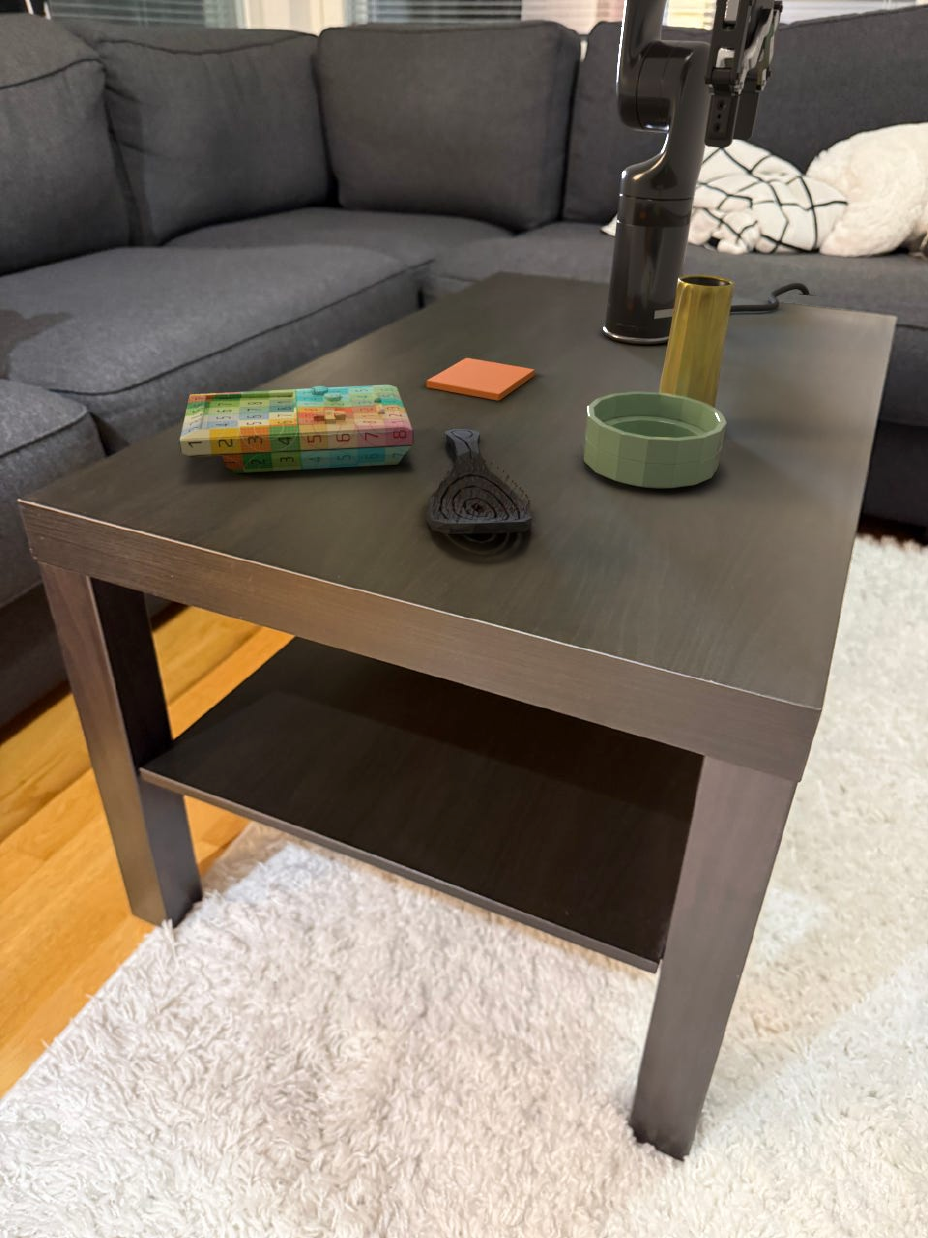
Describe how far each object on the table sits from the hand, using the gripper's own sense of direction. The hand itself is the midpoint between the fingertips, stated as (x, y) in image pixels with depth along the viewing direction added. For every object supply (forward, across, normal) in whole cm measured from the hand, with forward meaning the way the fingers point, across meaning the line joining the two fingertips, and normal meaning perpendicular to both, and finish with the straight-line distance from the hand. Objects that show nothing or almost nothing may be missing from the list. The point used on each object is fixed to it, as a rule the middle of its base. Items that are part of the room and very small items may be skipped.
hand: (728, 142), depth 76 cm
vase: (+26, 0, 0) cm, 26 cm away
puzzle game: (+26, +25, -30) cm, 47 cm away
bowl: (+26, +12, 0) cm, 28 cm away
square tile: (+26, -2, -24) cm, 35 cm away
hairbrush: (+26, +25, -12) cm, 38 cm away
